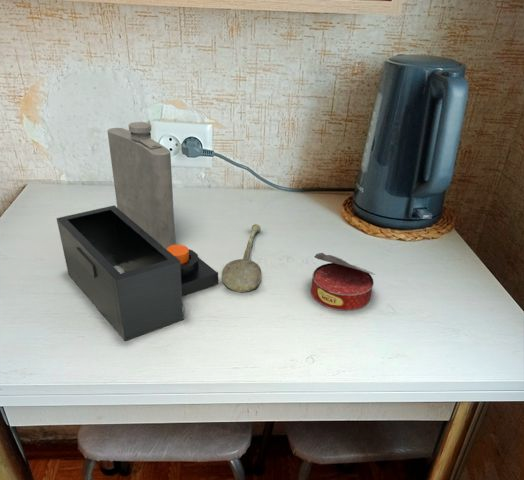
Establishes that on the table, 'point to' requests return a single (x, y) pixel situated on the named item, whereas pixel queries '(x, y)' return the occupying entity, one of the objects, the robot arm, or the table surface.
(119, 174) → the hip flask
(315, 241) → the table surface
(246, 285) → the soupspoon
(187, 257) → the button
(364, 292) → the canned food
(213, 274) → the control panel
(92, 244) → the black storage bin
